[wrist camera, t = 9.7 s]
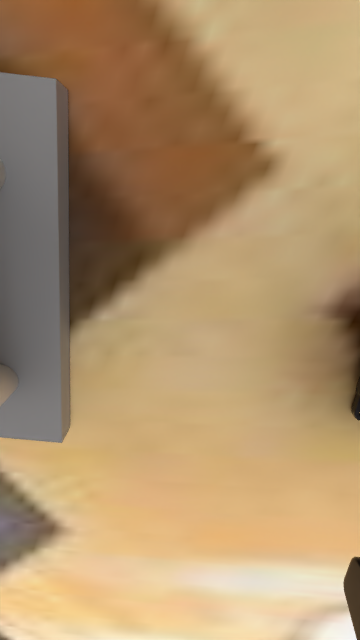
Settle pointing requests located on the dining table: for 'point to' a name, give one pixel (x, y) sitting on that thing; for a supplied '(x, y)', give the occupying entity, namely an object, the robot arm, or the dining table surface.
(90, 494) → the dining table surface
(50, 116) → the grey base with posts
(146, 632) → the dining table surface
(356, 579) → the robot arm
